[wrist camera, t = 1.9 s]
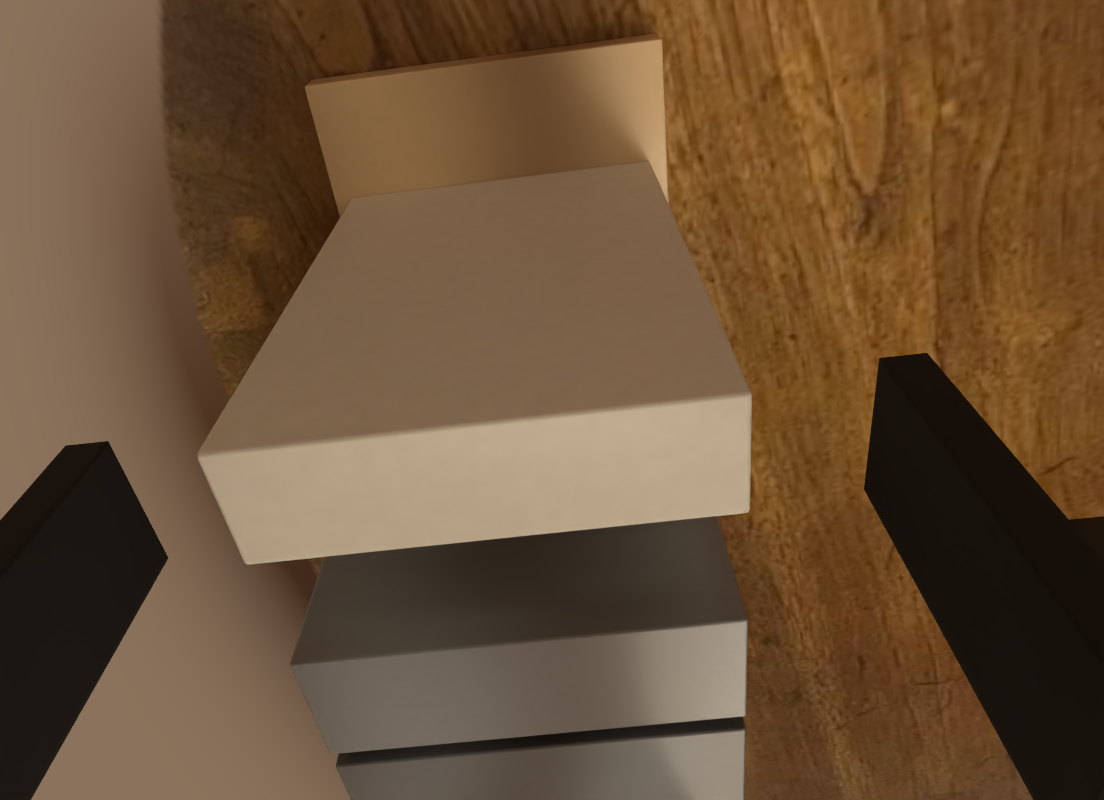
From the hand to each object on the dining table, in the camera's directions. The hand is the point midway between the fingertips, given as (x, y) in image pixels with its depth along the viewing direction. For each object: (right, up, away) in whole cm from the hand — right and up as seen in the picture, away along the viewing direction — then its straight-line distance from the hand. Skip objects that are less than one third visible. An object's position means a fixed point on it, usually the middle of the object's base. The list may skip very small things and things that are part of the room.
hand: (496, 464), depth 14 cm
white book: (0, +7, +10) cm, 12 cm away
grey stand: (0, +3, +14) cm, 14 cm away
